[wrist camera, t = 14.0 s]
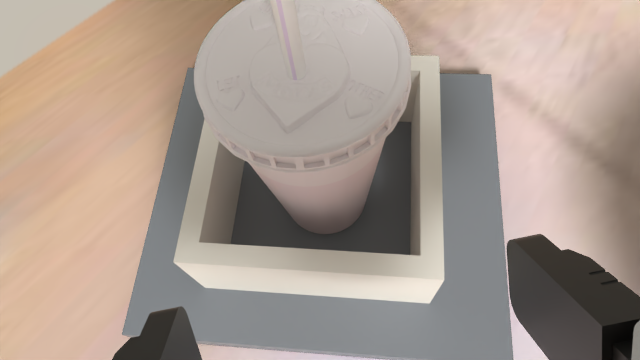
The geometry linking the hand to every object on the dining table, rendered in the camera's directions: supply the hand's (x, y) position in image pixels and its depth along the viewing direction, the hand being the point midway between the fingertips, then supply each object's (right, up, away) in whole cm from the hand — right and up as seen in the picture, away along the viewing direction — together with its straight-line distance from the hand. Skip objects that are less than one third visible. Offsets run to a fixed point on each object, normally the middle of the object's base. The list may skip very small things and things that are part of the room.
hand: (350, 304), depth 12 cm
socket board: (0, +2, +12) cm, 12 cm away
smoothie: (0, +2, +11) cm, 11 cm away
